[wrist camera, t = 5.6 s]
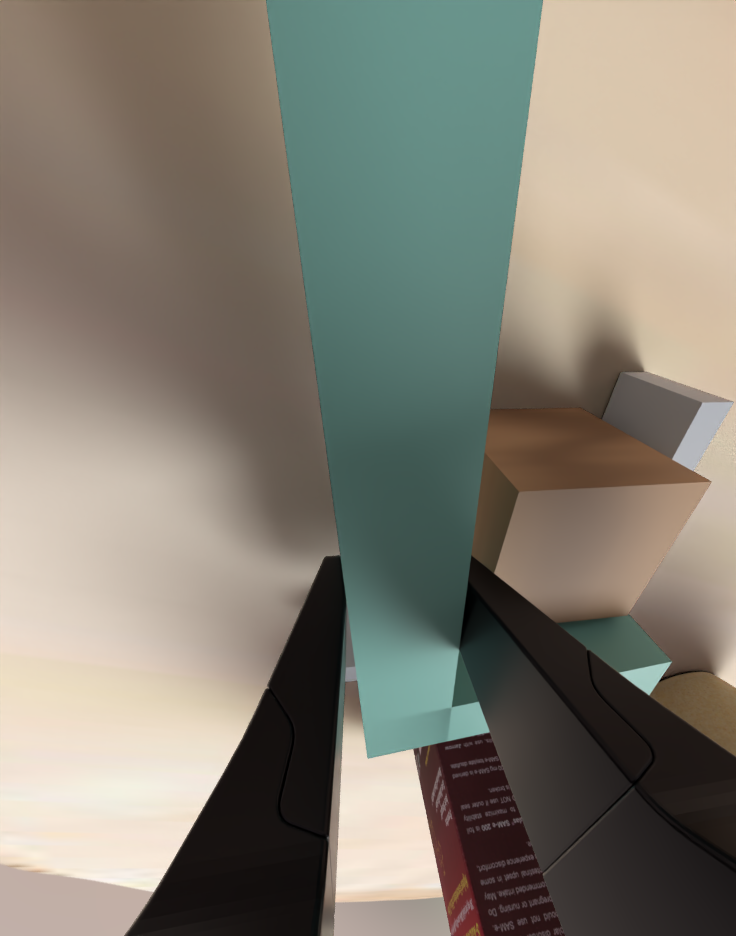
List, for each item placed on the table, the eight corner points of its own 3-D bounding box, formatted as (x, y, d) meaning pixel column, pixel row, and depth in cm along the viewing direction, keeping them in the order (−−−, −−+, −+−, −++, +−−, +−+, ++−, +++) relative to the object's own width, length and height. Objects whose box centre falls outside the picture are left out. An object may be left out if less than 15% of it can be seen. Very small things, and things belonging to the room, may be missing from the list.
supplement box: (412, 669, 20) (623, 1524, 7) (493, 656, 21) (845, 1424, 7) (407, 740, 24) (526, 1334, 11) (474, 728, 25) (666, 1281, 12)
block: (579, 406, 13) (712, 481, 9) (540, 516, 15) (627, 615, 11) (446, 409, 12) (519, 491, 8) (428, 522, 15) (476, 631, 10)
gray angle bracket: (671, 371, 12) (764, 401, 10) (566, 595, 18) (607, 649, 16) (328, 373, 11) (334, 409, 8) (334, 617, 17) (338, 683, 14)
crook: (869, -52, 5) (1320, -297, 3) (587, 620, 14) (647, 697, 11) (258, -67, 4) (205, -452, 2) (355, 664, 13) (367, 758, 10)
